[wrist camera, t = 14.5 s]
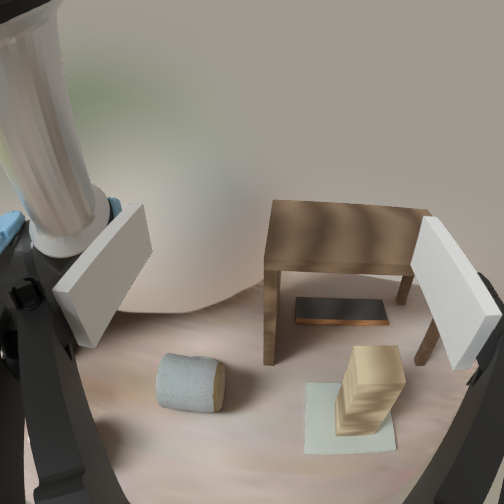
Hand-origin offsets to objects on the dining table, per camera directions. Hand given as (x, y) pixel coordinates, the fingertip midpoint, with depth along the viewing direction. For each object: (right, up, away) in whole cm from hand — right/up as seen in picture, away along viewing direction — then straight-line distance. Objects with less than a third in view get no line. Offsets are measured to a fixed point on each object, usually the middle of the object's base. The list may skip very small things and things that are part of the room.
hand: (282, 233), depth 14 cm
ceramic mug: (-9, -20, +26) cm, 34 cm away
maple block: (+12, -22, +21) cm, 33 cm away
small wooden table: (+14, -13, +35) cm, 40 cm away
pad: (+11, -22, +22) cm, 33 cm away
